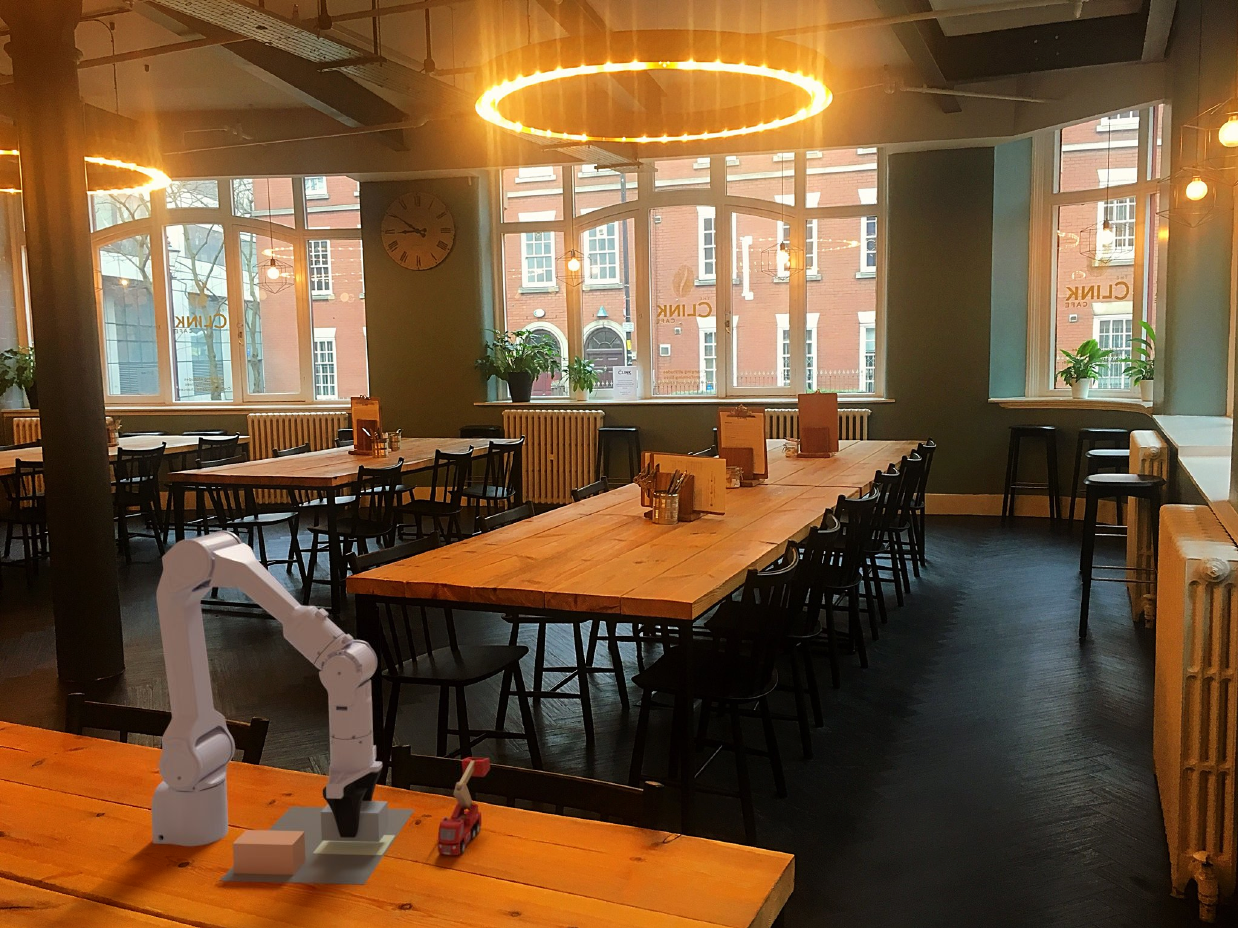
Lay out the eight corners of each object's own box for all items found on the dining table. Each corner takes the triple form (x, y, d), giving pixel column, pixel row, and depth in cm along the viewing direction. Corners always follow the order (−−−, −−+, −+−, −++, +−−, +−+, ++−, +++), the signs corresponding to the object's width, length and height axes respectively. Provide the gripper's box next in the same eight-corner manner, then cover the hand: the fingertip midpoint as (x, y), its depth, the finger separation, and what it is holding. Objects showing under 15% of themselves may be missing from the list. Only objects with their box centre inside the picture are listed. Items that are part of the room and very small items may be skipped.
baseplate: (219, 889, 129) (219, 880, 129) (291, 814, 152) (291, 806, 152) (364, 893, 127) (364, 883, 127) (414, 817, 150) (414, 808, 150)
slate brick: (321, 840, 137) (320, 811, 136) (332, 827, 141) (331, 800, 140) (379, 841, 136) (378, 813, 136) (388, 829, 140) (387, 801, 140)
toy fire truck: (435, 857, 137) (433, 788, 136) (470, 815, 151) (468, 752, 150) (458, 859, 136) (457, 790, 136) (491, 817, 150) (490, 754, 149)
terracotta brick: (233, 873, 131) (232, 843, 130) (247, 858, 135) (246, 829, 134) (293, 874, 130) (292, 844, 130) (305, 860, 134) (304, 831, 134)
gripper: (362, 751, 130) (365, 853, 131) (395, 715, 144) (398, 807, 145) (309, 750, 130) (312, 852, 131) (347, 715, 145) (350, 806, 146)
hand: (354, 828), depth 138 cm, fingers open, 4 cm apart
